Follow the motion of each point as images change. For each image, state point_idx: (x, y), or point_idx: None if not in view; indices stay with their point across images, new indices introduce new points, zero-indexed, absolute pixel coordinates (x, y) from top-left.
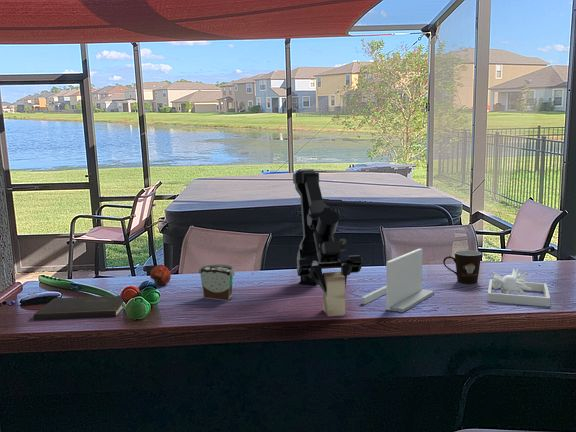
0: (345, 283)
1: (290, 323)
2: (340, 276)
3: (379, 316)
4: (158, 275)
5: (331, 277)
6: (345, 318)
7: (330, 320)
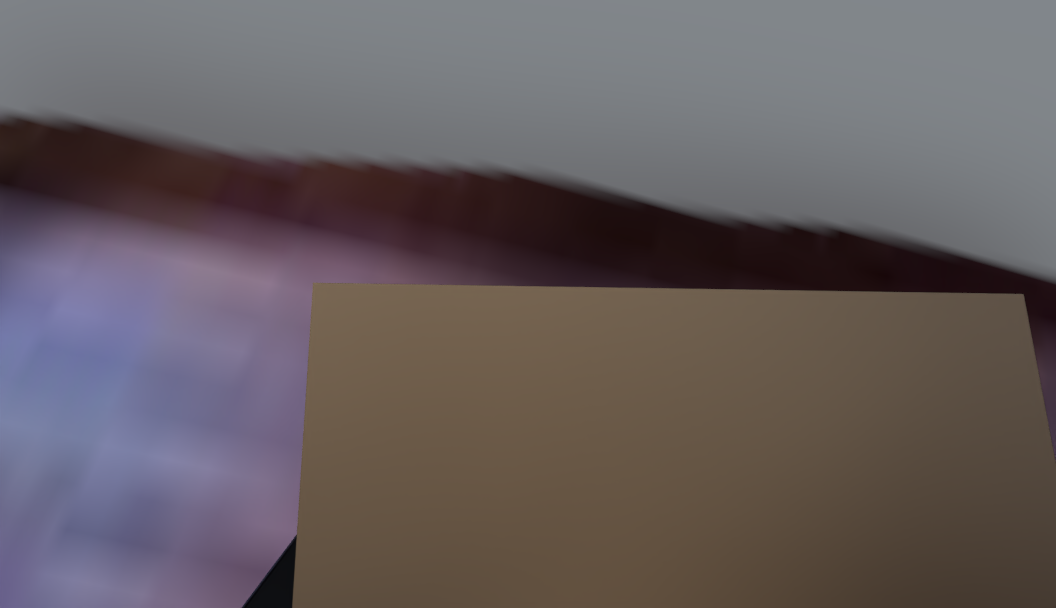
0: (279, 579)
1: (1016, 274)
2: (491, 381)
3: (32, 254)
4: None
5: (876, 309)
6: (450, 284)
7: (624, 262)
